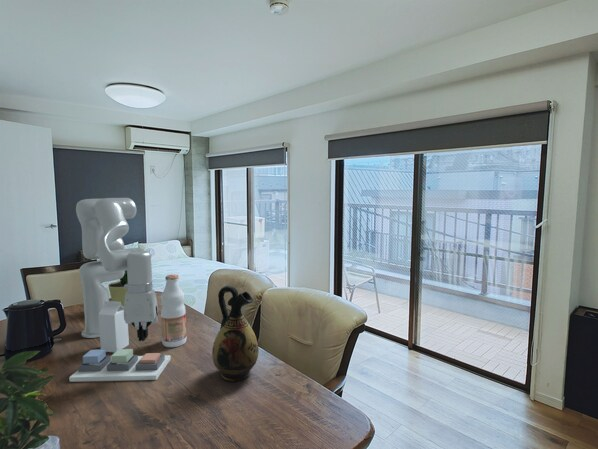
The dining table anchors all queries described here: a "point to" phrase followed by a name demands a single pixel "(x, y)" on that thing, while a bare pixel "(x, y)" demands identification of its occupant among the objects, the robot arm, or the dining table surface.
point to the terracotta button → (150, 358)
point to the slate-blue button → (94, 356)
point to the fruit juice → (173, 313)
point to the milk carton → (113, 327)
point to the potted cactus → (119, 289)
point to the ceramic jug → (234, 339)
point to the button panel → (120, 370)
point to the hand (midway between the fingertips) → (142, 339)
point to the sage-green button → (122, 356)
